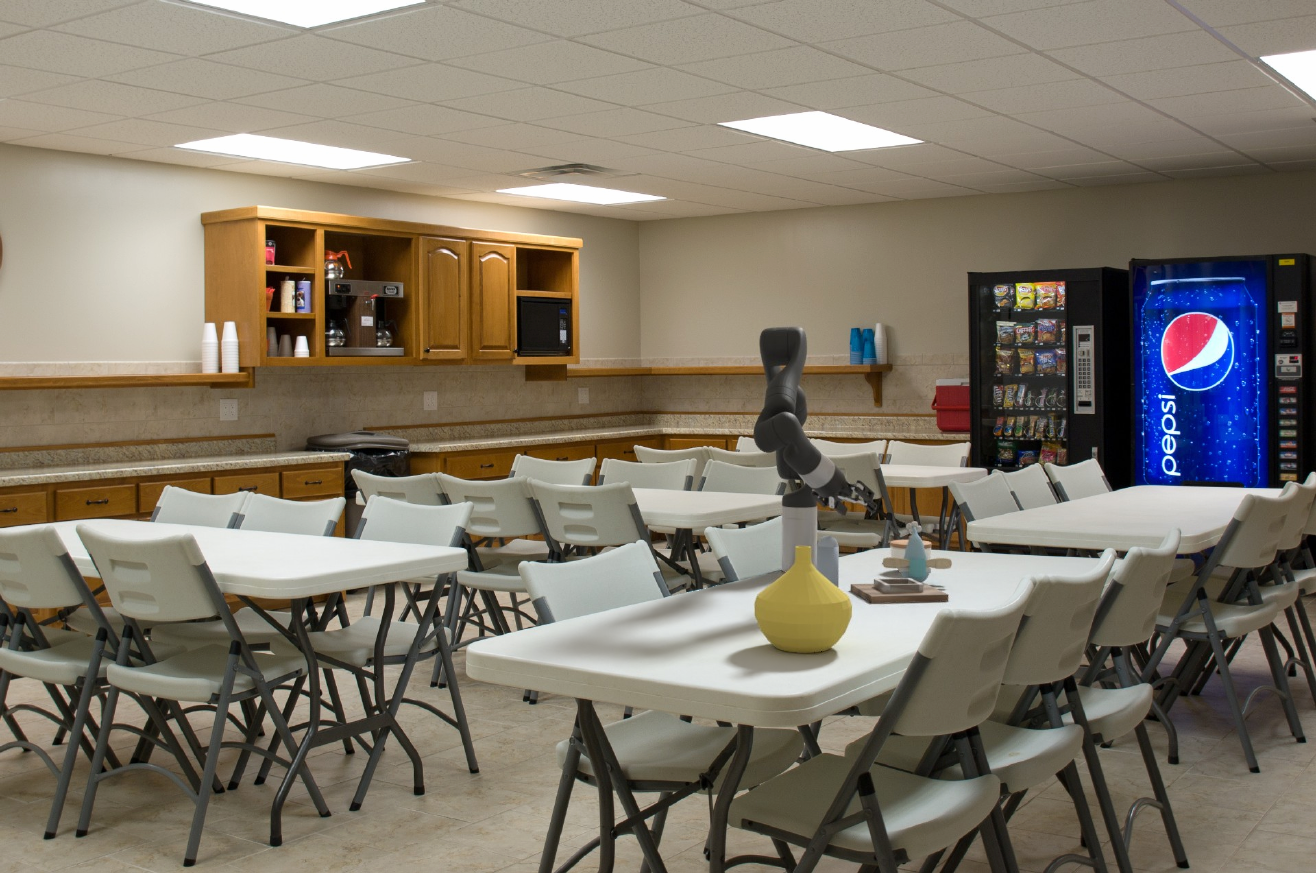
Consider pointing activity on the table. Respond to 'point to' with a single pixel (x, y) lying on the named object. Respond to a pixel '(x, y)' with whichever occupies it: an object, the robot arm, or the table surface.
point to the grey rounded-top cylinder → (828, 558)
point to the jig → (898, 591)
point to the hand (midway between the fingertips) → (859, 511)
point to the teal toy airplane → (916, 558)
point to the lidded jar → (901, 545)
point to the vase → (803, 608)
